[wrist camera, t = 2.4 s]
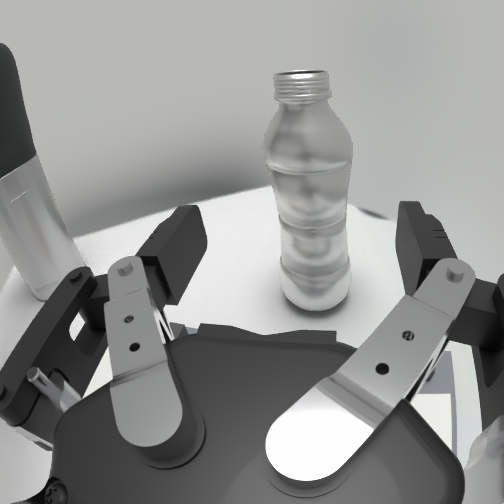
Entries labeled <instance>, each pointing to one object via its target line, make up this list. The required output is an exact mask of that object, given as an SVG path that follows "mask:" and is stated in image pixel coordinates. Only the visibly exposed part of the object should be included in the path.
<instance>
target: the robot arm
mask: <svg viewBox="0 0 504 504" xmlns="http://www.w3.org/2000/svg"><path fill="white" fill-rule="evenodd" d="M0 239H1V240H2V242H3V244H4V246H5V248H6V249H7V251H8V253H9V255H10V257H11V259H12V260H13V262H14V264H15V265H16V267H17V269H18V270H19V272H20V274H21V276H22V277H23V279H24V280H25V282H26V283H27V285H28V287H29V288H30V290H31V291H32V293H33V294H34V296H35V297H36V298H37V299H39V300H47V301H46V303H45V304H44V305H43V307H42V308H41V310H40V311H39V312H38V314H37V315H36V317H35V318H34V319H33V321H32V322H31V324H30V325H29V327H28V328H27V330H26V331H25V333H24V334H23V336H22V337H21V339H20V340H19V342H18V343H17V345H16V347H15V348H14V350H13V351H12V353H11V354H10V356H9V358H8V359H7V361H6V363H5V364H4V366H3V368H2V369H1V371H0V417H1V418H2V419H3V420H4V421H6V423H7V424H8V425H9V426H10V427H12V428H13V429H14V430H16V431H17V432H18V433H20V434H21V435H22V436H24V437H25V438H27V439H28V440H30V441H32V442H34V443H35V444H37V445H38V446H40V447H41V448H43V449H44V450H47V451H53V453H52V464H51V470H50V475H49V479H48V481H47V483H46V485H45V487H44V488H43V489H42V490H41V491H40V492H39V493H38V494H36V495H35V496H33V497H31V498H29V499H27V500H24V501H19V502H15V503H12V504H504V274H502V275H501V276H500V277H499V279H498V282H497V284H495V283H491V282H487V281H483V280H480V279H477V278H475V277H476V276H475V272H474V270H473V269H472V268H471V266H469V265H468V264H467V263H465V262H464V261H462V260H459V259H458V258H457V256H456V253H455V251H454V249H453V247H452V245H451V243H450V241H449V239H448V237H447V234H446V232H444V228H443V226H442V224H441V222H440V221H439V220H437V219H436V218H435V217H434V216H433V215H429V214H425V213H424V210H423V209H422V207H421V204H420V202H418V201H401V202H400V203H399V211H398V220H397V229H396V240H395V244H396V253H397V257H398V262H399V266H400V270H401V275H402V279H403V284H404V289H405V293H406V295H405V296H404V297H403V298H402V299H401V300H400V301H399V303H398V304H397V305H396V306H395V307H394V309H393V310H392V311H391V312H390V313H389V315H388V316H387V317H386V318H385V319H384V320H383V322H382V323H381V324H380V325H379V326H378V327H377V329H376V330H375V331H374V332H373V333H372V334H371V335H370V336H369V338H368V339H367V340H366V341H365V342H364V343H363V344H362V345H361V346H360V347H359V348H358V349H356V348H354V347H352V346H350V345H347V344H344V343H341V342H337V341H336V332H337V331H321V330H297V331H291V332H285V333H278V334H271V335H260V334H257V333H253V332H250V331H247V330H243V329H240V328H237V327H233V326H227V325H215V324H204V323H200V326H199V328H198V330H197V333H193V334H188V335H184V336H181V337H178V338H176V339H174V336H173V333H172V330H171V327H170V325H169V322H168V319H167V316H166V313H165V311H164V309H163V308H164V306H165V304H166V305H178V303H179V301H180V299H181V297H182V295H183V293H184V292H185V290H186V288H187V286H188V284H189V282H190V280H191V278H192V276H193V274H194V272H195V270H196V269H197V267H198V265H199V263H200V261H201V259H202V257H203V255H204V254H205V252H206V249H207V235H206V232H205V228H204V224H203V221H202V217H201V213H200V210H199V207H198V206H197V205H184V206H178V207H177V209H176V210H175V211H174V212H173V214H172V215H171V216H170V217H169V218H167V219H166V220H165V221H163V222H162V223H160V224H159V225H158V226H157V228H156V229H155V230H154V231H153V233H152V234H151V235H150V237H149V239H147V240H146V242H145V243H144V244H143V246H142V247H141V248H140V249H139V251H138V252H137V253H136V255H135V256H128V257H125V258H122V259H120V260H118V261H117V262H115V263H114V264H113V265H112V266H111V267H110V268H109V270H108V274H104V275H99V276H94V275H93V273H92V271H91V269H90V268H89V267H87V266H85V263H84V261H83V259H82V257H81V255H80V253H79V251H78V249H77V247H76V245H75V243H74V241H73V239H72V237H71V234H70V232H69V230H68V228H67V226H66V224H65V222H64V220H63V217H62V215H61V213H60V211H59V208H58V206H57V204H56V201H55V199H54V196H53V194H52V192H51V189H50V187H49V184H48V182H47V179H46V176H45V174H44V172H43V169H42V167H41V163H40V161H39V158H38V155H37V153H36V150H35V147H34V143H33V139H32V134H31V129H30V125H29V121H28V118H27V114H26V110H25V106H24V101H23V96H22V91H21V85H20V80H19V75H18V70H17V67H16V62H15V59H14V57H13V55H12V52H11V51H10V50H9V48H8V47H7V46H6V45H5V44H2V43H0ZM78 312H79V314H80V315H81V317H82V318H83V320H84V321H85V324H84V326H83V327H82V329H81V331H80V332H79V334H78V336H77V337H76V339H75V341H73V339H72V338H71V336H70V333H69V328H70V325H71V323H72V321H73V320H74V318H75V317H76V315H77V314H78ZM450 340H451V341H455V342H459V343H463V344H467V345H471V347H472V353H473V358H474V364H475V370H476V376H477V383H478V391H479V399H480V408H481V419H482V433H481V434H480V435H479V436H478V437H477V438H476V439H475V440H474V442H473V443H472V446H471V449H470V454H469V460H468V463H467V465H466V467H465V468H464V470H463V468H462V466H461V463H460V461H459V460H458V458H457V457H456V455H455V454H454V453H453V452H452V451H451V450H450V448H449V447H448V446H447V445H446V444H445V443H444V441H443V440H442V439H441V438H440V437H439V436H438V434H437V433H436V432H435V431H434V430H433V429H432V427H431V426H430V425H429V424H428V423H427V422H426V421H425V419H424V418H423V417H422V416H421V415H420V414H419V413H418V411H417V410H416V409H415V408H414V407H413V406H412V405H411V403H412V401H413V400H414V398H415V397H416V395H417V394H418V392H419V391H420V389H421V388H422V386H423V384H424V383H425V381H426V379H427V378H428V376H429V375H430V373H431V372H432V370H433V369H434V367H435V365H436V364H437V362H438V361H439V359H440V357H441V356H442V354H443V352H444V351H445V349H446V347H447V345H448V344H449V342H450ZM107 348H109V355H110V362H111V369H112V375H113V379H112V380H111V381H109V382H108V383H106V384H105V385H103V386H102V387H100V388H98V389H97V390H95V391H94V392H92V393H91V394H89V395H88V396H86V397H85V398H83V396H84V394H85V392H86V390H87V388H88V386H89V384H90V382H91V379H92V377H93V375H94V373H95V371H96V369H97V367H98V365H99V363H100V361H101V359H102V357H103V355H104V353H105V351H106V350H107ZM82 398H83V399H82Z"/></svg>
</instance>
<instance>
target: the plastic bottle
mask: <svg viewBox="0 0 504 504" xmlns="http://www.w3.org/2000/svg"><path fill="white" fill-rule="evenodd" d="M273 79H274V86H275V93H274V98H275V100H277V101H279V102H280V103H279V109H278V111H277V112H276V114H275V115H274V117H273V119H272V120H271V122H270V123H269V126H268V128H267V130H266V132H265V134H264V139H263V145H262V151H263V156H264V160H265V162H266V167H267V170H268V173H269V177H270V180H271V183H272V187H273V190H274V194H275V199H276V204H277V210H278V213H279V220H280V226H281V257H280V269H279V280H280V283H281V286H282V289H283V291H284V294H285V296H286V297H287V298H288V299H289V300H290V301H291V302H292V303H293V304H295V305H296V306H298V307H299V308H302V309H304V310H308V311H324V310H328V309H331V308H333V307H334V306H336V305H337V304H339V303H340V302H341V301H342V300H343V299H344V298H345V297H346V295H347V293H348V290H349V286H350V283H351V276H352V275H351V265H350V260H349V256H348V247H347V233H346V211H347V193H348V187H349V180H350V172H351V165H352V156H353V143H352V141H351V137H350V134H349V132H348V130H347V129H346V127H345V126H344V124H343V123H342V121H341V120H340V118H339V117H338V116H337V115H336V113H335V112H334V111H333V110H332V109H331V108H330V106H329V104H328V100H327V99H328V98H330V97H331V96H332V93H331V90H330V87H329V75H328V71H326V70H298V71H287V72H280V73H275V74H274V77H273Z"/></svg>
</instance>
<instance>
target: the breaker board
mask: <svg viewBox="0 0 504 504" xmlns="http://www.w3.org/2000/svg"><path fill="white" fill-rule="evenodd" d="M169 325H170V327H171V330H172V333H173V336H174V339H176V338H178V337H181V336H184V335H188V334H193V333H197V330H198V329H195V328H189V327H185V325H183V324H178V323H172V322H170V323H169ZM356 349H358V348H356ZM112 379H113V375H112V369H111V362H110V355H109V348H107V350H106V351H105V353H104V355H103V357H102V359H101V361H100V363H99V365H98V367H97V369H96V371H95V373H94V375H93V377H92V379H91V382H90V384H89V386H88V388H87V390H86V392H85V394H84V396H83V398H85V397H86V396H88V395H89V394H91V393H92V392H94V391H95V390H97V389H98V388H100V387H102V386H103V385H105V384H106V383H108V382H109V381H111V380H112ZM83 398H82V399H83ZM411 405H412V406H413V407H414V408H415V409H416V410H417V411H418V413H419V414H420V415H421V416H422V417H423V418H424V419H425V421H426V422H427V423H428V424H429V425H430V426H431V427H432V429H433V430H434V431H435V432H436V433H437V434H438V436H439V437H440V438H441V439H442V440H443V441H444V443H445V444H446V445H447V446H448V447H449V448H450V450H451V451H452V452H453V453H454V454H455V455H456V457H457V419H456V399H455V385H454V374H453V365H452V356H451V351H444V352H443V354H442V356H441V357H440V359H439V361H438V362H437V364H436V365H435V367H434V369H433V370H432V372H431V373H430V375H429V376H428V378H427V379H426V381H425V383H424V384H423V386H422V388H421V389H420V391H419V392H418V394H417V395H416V397H415V398H414V400H413V401H412V403H411Z"/></svg>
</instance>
